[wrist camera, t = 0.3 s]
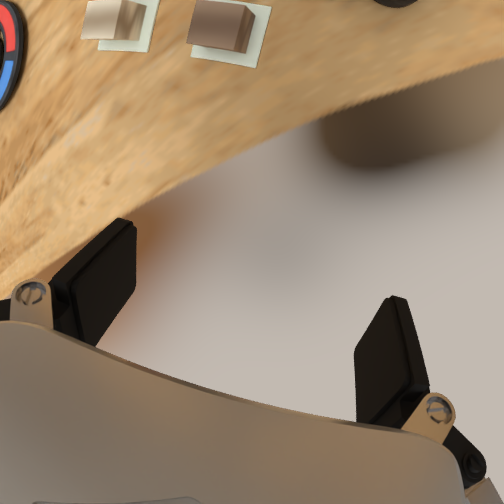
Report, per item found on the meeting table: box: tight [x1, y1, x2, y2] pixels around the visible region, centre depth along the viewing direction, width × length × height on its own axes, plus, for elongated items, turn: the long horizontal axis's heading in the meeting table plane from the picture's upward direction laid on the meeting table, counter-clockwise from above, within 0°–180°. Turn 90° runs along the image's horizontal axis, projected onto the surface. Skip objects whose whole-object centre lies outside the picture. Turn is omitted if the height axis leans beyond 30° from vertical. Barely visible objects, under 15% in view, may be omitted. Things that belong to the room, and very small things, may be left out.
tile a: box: [191, 0, 272, 68], centre depth 30 cm, size 8×8×1 cm
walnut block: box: [186, 0, 256, 54], centre depth 28 cm, size 5×5×6 cm
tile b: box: [98, 0, 160, 52], centre depth 31 cm, size 8×8×1 cm
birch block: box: [81, 0, 147, 41], centre depth 28 cm, size 5×5×6 cm
